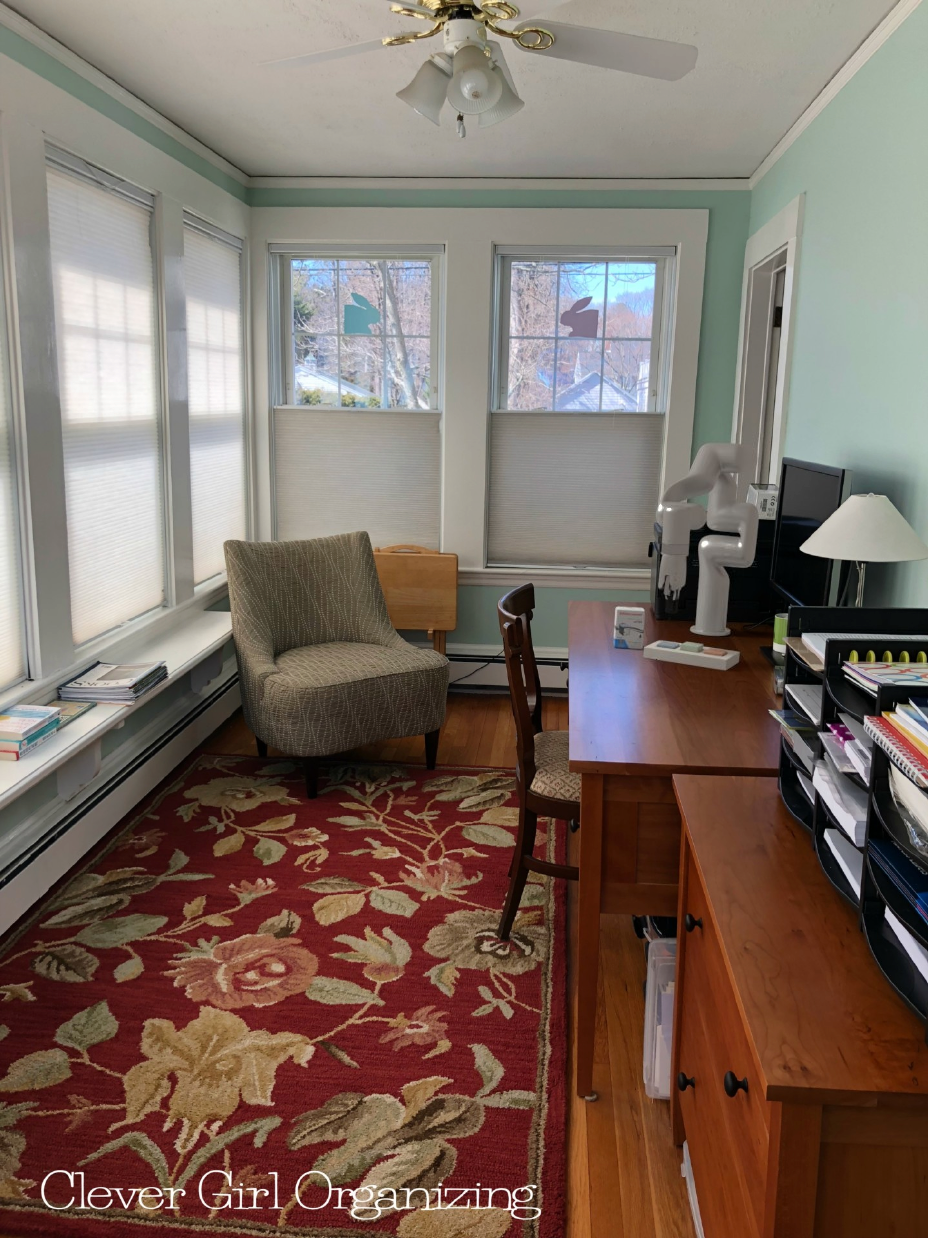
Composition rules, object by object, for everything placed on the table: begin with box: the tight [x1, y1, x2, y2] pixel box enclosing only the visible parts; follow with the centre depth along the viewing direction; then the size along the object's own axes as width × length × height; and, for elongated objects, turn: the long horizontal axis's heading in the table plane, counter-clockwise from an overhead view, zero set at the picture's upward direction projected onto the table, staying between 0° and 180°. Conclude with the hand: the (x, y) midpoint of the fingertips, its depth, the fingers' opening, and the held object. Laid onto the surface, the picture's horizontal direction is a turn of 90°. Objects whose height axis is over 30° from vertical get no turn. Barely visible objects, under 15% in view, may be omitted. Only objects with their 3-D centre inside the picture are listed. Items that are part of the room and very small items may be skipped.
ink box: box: [612, 606, 646, 650], centre depth 290 cm, size 9×5×12 cm, turn 84°
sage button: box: [680, 641, 704, 653], centre depth 276 cm, size 5×5×3 cm
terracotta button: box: [704, 647, 727, 657], centre depth 273 cm, size 5×5×3 cm
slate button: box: [657, 640, 680, 649], centre depth 280 cm, size 5×5×3 cm
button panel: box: [642, 639, 741, 671], centre depth 276 cm, size 12×24×3 cm, turn 58°
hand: (671, 612), depth 278 cm, fingers closed
